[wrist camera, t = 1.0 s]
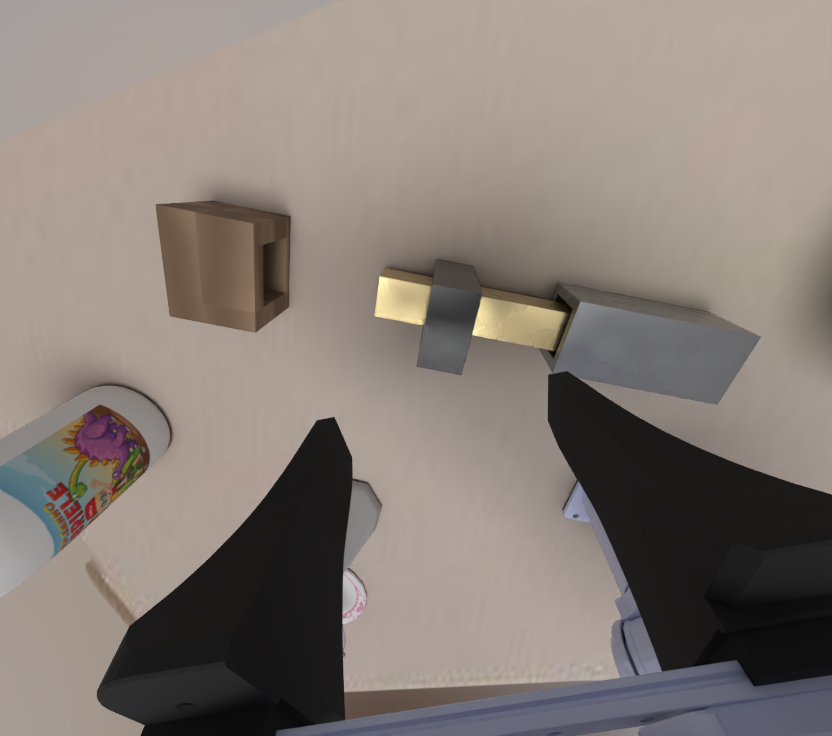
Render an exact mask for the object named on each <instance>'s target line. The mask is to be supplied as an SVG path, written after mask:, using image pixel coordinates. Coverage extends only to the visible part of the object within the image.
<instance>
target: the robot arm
mask: <svg viewBox="0 0 832 736" xmlns="http://www.w3.org/2000/svg"><path fill="white" fill-rule="evenodd" d="M548 422H549V424H550V427H551V429H552V432H553V434H554V437H555V439H556V441H557V444H558V446H559V448H560V450H561V452H562V454H563V455H564V457H565V459H566V461H567V462H568V464H569V466H570V468H571V469H572V471H573V473H574V475H575V476H576V478H577V480H578V482H577V484H576V486H575V488H574V490H573V492H572V494H571V496H570V498H569V500H568V502H567V504H566V506H565V508H564V510H563V514H564V517H565V518H567V519H572V520H578V521H583V522H588V523H591V524H592V527H593V529H594V531H595V534H596V536H597V538H598V541H599V543H600V545H601V548H602V550H603V552H604V555H605V557H606V559H607V562H608V564H609V566H610V568H611V571H612V573H613V575H614V578H615V580H616V582H617V585H618V587H619V589H620V592H621V594H622V596H621V597H620V598H618V599H616V600H615V603H616V605H617V608H618V610H619V613H620V615H621V618H622V619H621V620H618V621H616V622H614V623H613V625H612V638H611V648H612V653H613V657H614V661H615V664H616V667H617V670H618V672H619V675H620V677H621V678H617V679H610V680H604V681H597V682H591V683H585V684H578V685H571V686H565V687H558V688H552V689H545V690H540V691H533V692H527V693H520V694H513V695H506V696H500V697H493V698H487V699H480V700H474V701H468V702H461V703H454V704H448V705H441V706H435V707H429V708H421V709H416V710H408V711H402V712H395V713H389V714H382V715H376V716H370V717H363V718H356V719H350V720H345V706H344V678H343V564H344V551H345V543H346V535H347V527H348V519H349V511H350V502H351V494H352V456H351V454H350V452H349V449H348V447H347V445H346V443H345V440H344V438H343V436H342V433H341V431H340V429H339V426H338V424H337V422H336V420H335V417H332V418H327V419H322V420H317V421H316V423H315V424H314V426H313V427H312V429H311V430H310V432H309V433H308V435H307V437H306V438H305V440H304V441H303V443H302V444H301V446H300V448H299V449H298V451H297V452H296V454H295V455H294V457H293V458H292V460H291V461H290V463H289V464H288V466H287V467H286V469H285V470H284V472H283V473H282V475H281V476H280V477H279V479H278V480H277V482H276V483H275V484H274V486H273V487H272V488H271V490H270V491H269V492H268V494H267V495H266V496H265V498H264V499H263V500H262V502H261V503H260V504H259V505H258V506H257V508H256V509H255V510H254V511H253V512H252V513H251V515H250V516H249V517H248V518H247V519H246V520H245V522H244V523H243V524H242V525H241V526H240V527H239V528H238V529H237V530H236V531H235V532H234V533H233V535H232V536H231V537H230V538H229V539H228V540H227V541H226V542H225V543H224V544H223V545H222V546H221V547H220V548H219V549H218V550H217V551H216V552H215V553H214V554H213V555H212V556H211V557H210V558H209V559H208V560H207V561H206V562H205V563H204V564H203V565H201V566H200V567H199V568H198V569H197V570H196V571H195V572H194V573H193V574H192V575H191V576H189V577H188V578H187V579H186V580H185V581H184V582H183V583H182V584H180V585H179V586H178V587H177V588H176V589H175V590H174V591H172V592H171V593H170V594H169V595H168V596H166V597H165V598H164V599H163V600H161V601H160V602H159V603H158V604H156V605H155V606H154V607H153V608H152V609H150V610H149V611H148V612H147V613H145V614H144V615H143V616H142V617H140V618H139V619H138V620H137V621H135V622H134V623H133V624H132V625H130V627H129V628H128V630H127V633H126V634H125V636H124V638H123V640H122V642H121V644H120V646H119V648H118V650H117V652H116V654H115V656H114V658H113V660H112V662H111V664H110V666H109V668H108V670H107V672H106V674H105V676H104V678H103V680H102V682H101V684H100V686H99V688H98V690H97V698H98V701H99V702H100V703H101V705H102V706H104V707H105V708H107V709H109V710H111V711H113V712H115V713H118V714H120V715H123V716H125V717H127V718H129V719H132V720H134V721H136V722H139V723H141V724H143V725H145V726H144V728H143V731H142V734H141V736H576V735H583V734H589V733H597V732H603V731H610V730H616V729H623V728H630V727H638V726H644V725H646V726H644V727H641V728H639V732H638V735H639V736H832V495H831V494H828V493H825V492H821V491H818V490H814V489H811V488H807V487H804V486H801V485H797V484H794V483H791V482H788V481H785V480H782V479H779V478H776V477H773V476H770V475H767V474H764V473H761V472H758V471H755V470H753V469H750V468H747V467H745V466H742V465H739V464H737V463H734V462H731V461H729V460H726V459H724V458H722V457H719V456H717V455H714V454H712V453H709V452H707V451H705V450H702V449H700V448H698V447H695V446H693V445H691V444H689V443H687V442H685V441H683V440H681V439H679V438H676V437H674V436H672V435H670V434H668V433H666V432H664V431H662V430H660V429H658V428H657V427H655V426H653V425H651V424H649V423H648V422H646V421H644V420H642V419H640V418H639V417H637V416H635V415H633V414H632V413H630V412H628V411H627V410H625V409H623V408H622V407H620V406H619V405H617V404H616V403H614V402H612V401H611V400H609V399H608V398H606V397H605V396H603V395H602V394H600V393H599V392H597V391H596V390H594V389H593V388H591V387H590V386H588V385H587V384H586V383H584V382H583V381H581V380H580V379H578V378H577V377H575V376H574V375H572V374H571V373H570V372H568V371H565V372H560V373H554V374H549V375H548ZM574 514H575V515H574Z"/></svg>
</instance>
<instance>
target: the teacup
mask: <svg viewBox="0 0 832 736" xmlns="http://www.w3.org/2000/svg"><path fill="white" fill-rule="evenodd" d="M366 598H367V594H366V591H365V588H364V586H363V583H362V582H361V581H360V580H359V579H358V577H357V576H356V575H355V574H354V573H353V572H352V571H350V570H349V569H347V570H346V571H345V573H344V574H343V624H347V623H349V622H351V621H352V620H354V619H356V618H357V617H359V616H360V614H361V613H362V611H363V610H364V609H365V606H366ZM345 644H346V641H345V632H344V629H343V650H344V647H345ZM343 657H345V653H344V652H343Z"/></svg>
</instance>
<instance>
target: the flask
mask: <svg viewBox="0 0 832 736" xmlns="http://www.w3.org/2000/svg"><path fill="white" fill-rule="evenodd" d="M381 508H382V507H381V505H380V503H379V502H378V500H377V498H376V497H375V495H374V493H373V492H372V490H371V488H370V487H369V485H368V484H365V483H361V482H357V481H353V480H352V494H351V502H350V511H349V519H348V527H347V535H346V543H345V551H344V564H343V574H344V573H345V571H346V570H347V568H348V567H349V565H350V564H351V562H352V561H353V559H354V558H355V556H356V555H357V553H358V552H359V551H360V549H361V548H362V547H363V545H364V544H365V543H366V541H367V540H368V538H369V537H370V536H371V534H372V533H373V531H374V530H375V528H376V525H377V522H378V518H379V515H380V511H381Z"/></svg>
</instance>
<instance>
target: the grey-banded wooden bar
mask: <svg viewBox="0 0 832 736" xmlns="http://www.w3.org/2000/svg"><path fill="white" fill-rule="evenodd" d="M572 310H573V308H572V307H571V306H570V305H569V304H566V303H561V302H556V301H551V300H546V299H541V298H536V297H531V296H526V295H520V294H515V293H510V292H505V291H500V290H495V289H490V288H485V287H480V285H479V282H478V279H477V276H476V273H475V270H474V267H473V266H468V265H463V264H457V263H452V262H447V261H442V260H437V259H436V263H435V268H434V273H433V277H429V276H423V275H418V274H413V273H408V272H403V271H398V270H393V269H388V268H386V269H385V270H384V271H383V273H382V274H381V275H380V278H379V286H378V294H377V301H376V309H375V316H376V317H382V318H387V319H392V320H397V321H402V322H407V323H413V324H418V325H423V330H422V336H421V342H420V348H419V354H418V360H417V367H422V368H427V369H432V370H437V371H442V372H448V373H453V374H458V375H462V371H463V367H464V363H465V360H466V356H467V352H468V348H469V344H470V341H471V337H472V335H474V336H480V337H485V338H490V339H495V340H500V341H505V342H511V343H516V344H521V345H526V346H531V347H536V348H541V349H547V350H552V351H557V349H558V347H559V344H560V342H561V339H562V336H563V334H564V331H565V329H566V326H567V323H568V321H569V318H570V315H571V313H572Z"/></svg>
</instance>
